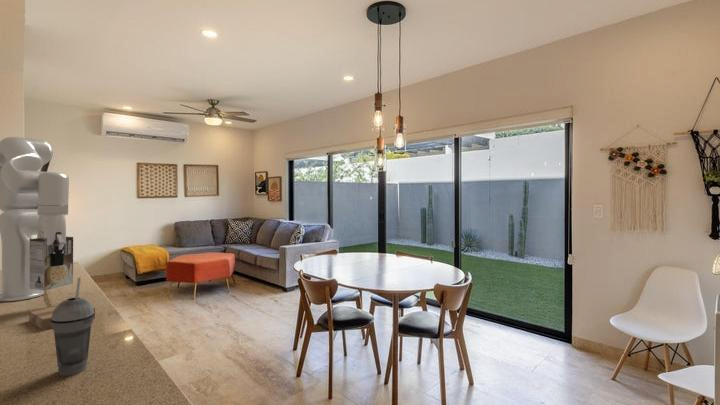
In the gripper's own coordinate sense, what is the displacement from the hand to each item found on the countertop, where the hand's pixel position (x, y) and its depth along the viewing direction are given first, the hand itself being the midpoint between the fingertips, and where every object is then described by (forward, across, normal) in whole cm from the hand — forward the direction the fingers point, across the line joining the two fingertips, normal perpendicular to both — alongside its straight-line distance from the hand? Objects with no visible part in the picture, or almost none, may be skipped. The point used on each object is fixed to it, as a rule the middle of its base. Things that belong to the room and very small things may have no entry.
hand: (52, 263), depth 114 cm
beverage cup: (+13, +55, -12) cm, 58 cm away
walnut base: (+14, +16, -2) cm, 22 cm away
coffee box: (+8, 0, 0) cm, 8 cm away
